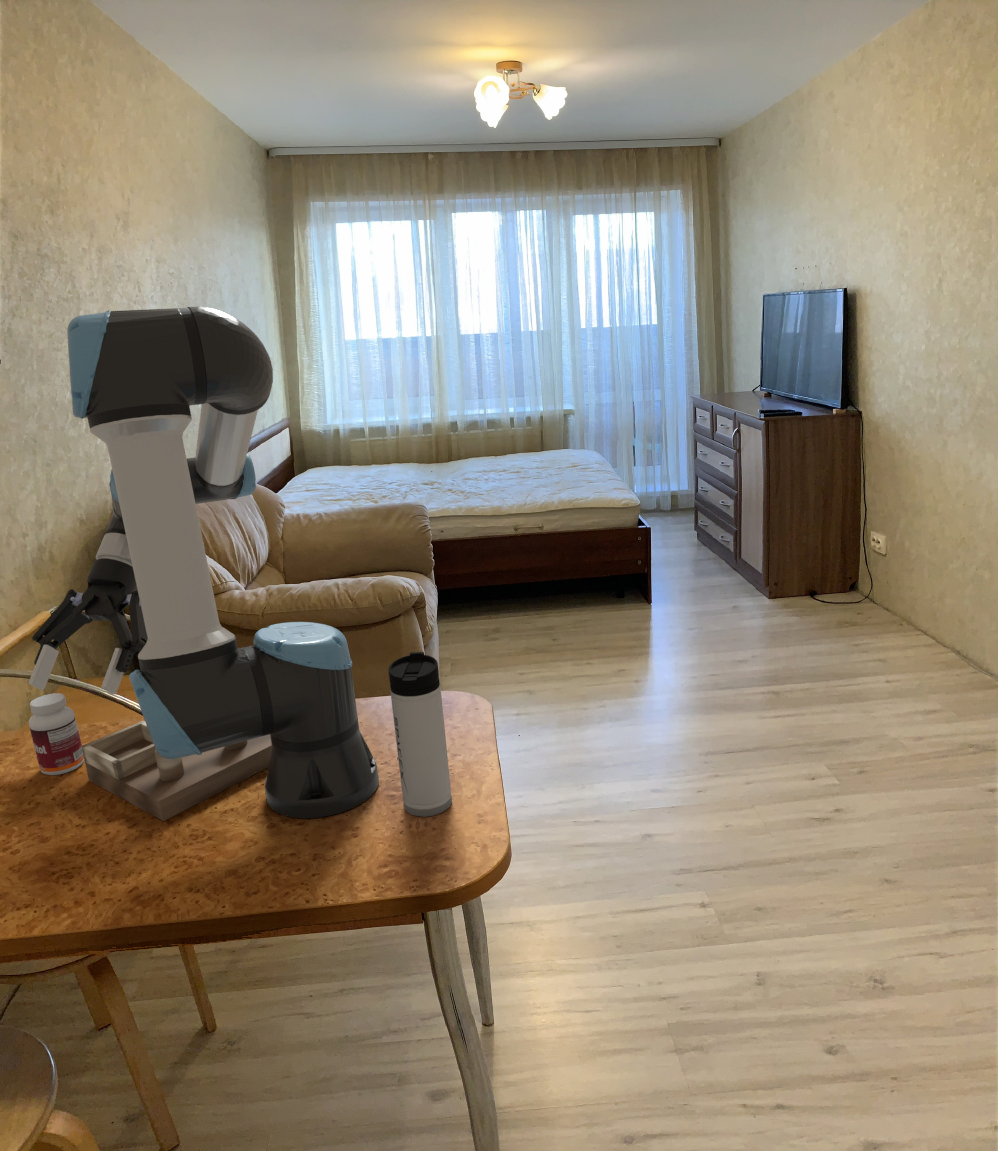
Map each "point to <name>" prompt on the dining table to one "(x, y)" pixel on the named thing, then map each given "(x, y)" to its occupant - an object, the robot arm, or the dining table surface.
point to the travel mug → (420, 734)
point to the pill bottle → (55, 735)
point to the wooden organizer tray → (168, 770)
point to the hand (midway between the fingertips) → (71, 689)
